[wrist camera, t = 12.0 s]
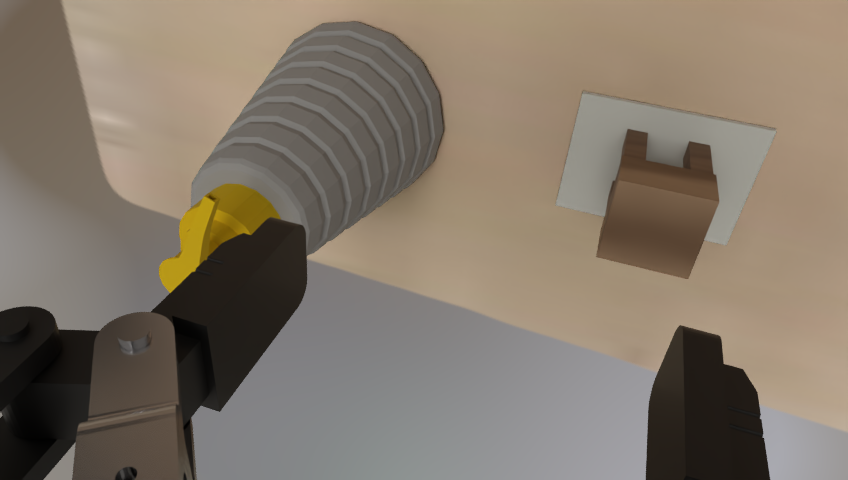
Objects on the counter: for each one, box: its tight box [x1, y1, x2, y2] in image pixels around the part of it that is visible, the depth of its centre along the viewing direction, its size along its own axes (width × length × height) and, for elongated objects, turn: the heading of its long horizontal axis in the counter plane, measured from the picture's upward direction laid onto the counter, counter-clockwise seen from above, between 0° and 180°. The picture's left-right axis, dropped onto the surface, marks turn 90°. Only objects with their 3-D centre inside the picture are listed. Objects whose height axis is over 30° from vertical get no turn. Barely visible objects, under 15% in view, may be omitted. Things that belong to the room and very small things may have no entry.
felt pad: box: [556, 91, 777, 245], centre depth 40 cm, size 8×11×1 cm
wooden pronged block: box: [596, 129, 719, 279], centre depth 37 cm, size 5×5×7 cm
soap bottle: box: [159, 22, 443, 293], centre depth 36 cm, size 12×12×20 cm
